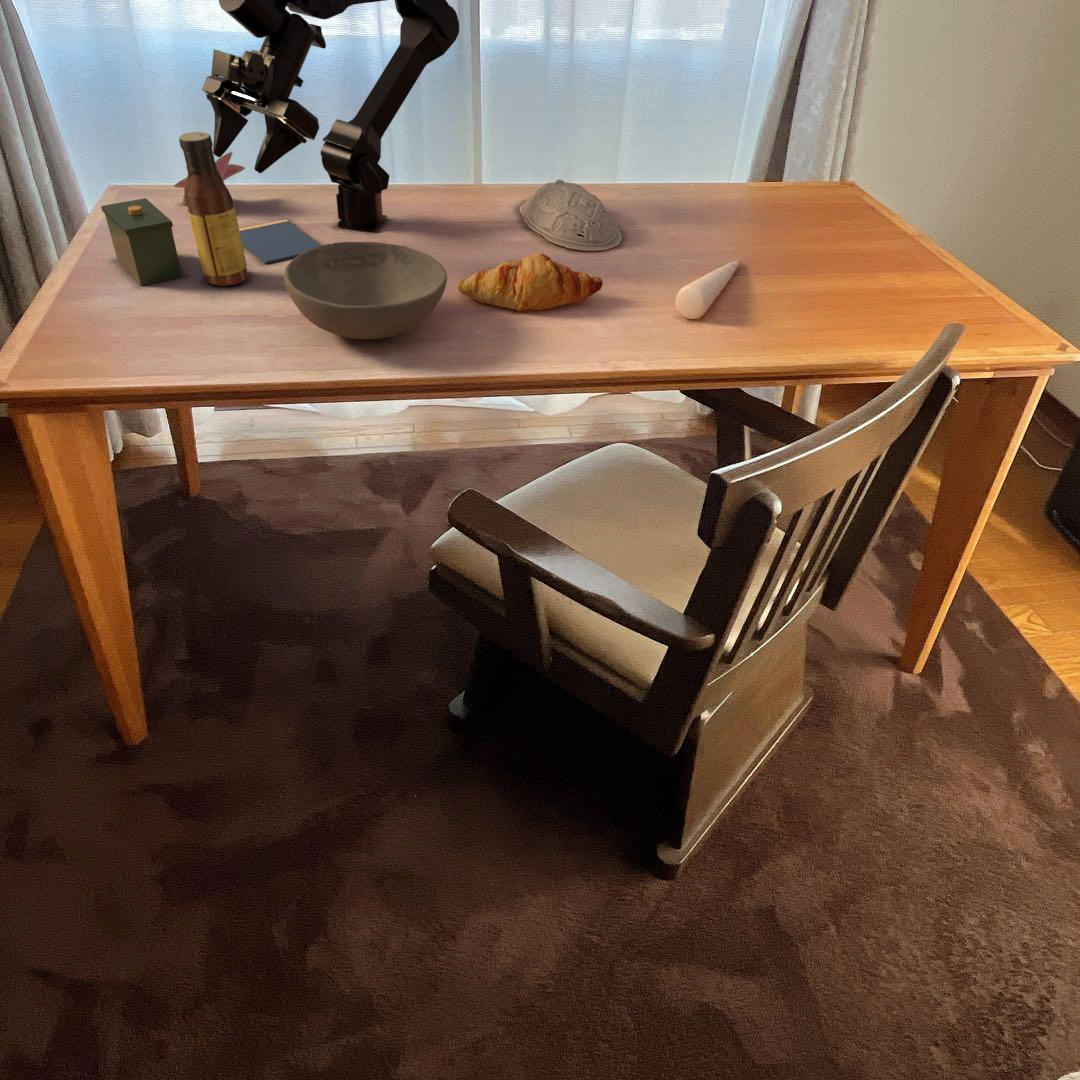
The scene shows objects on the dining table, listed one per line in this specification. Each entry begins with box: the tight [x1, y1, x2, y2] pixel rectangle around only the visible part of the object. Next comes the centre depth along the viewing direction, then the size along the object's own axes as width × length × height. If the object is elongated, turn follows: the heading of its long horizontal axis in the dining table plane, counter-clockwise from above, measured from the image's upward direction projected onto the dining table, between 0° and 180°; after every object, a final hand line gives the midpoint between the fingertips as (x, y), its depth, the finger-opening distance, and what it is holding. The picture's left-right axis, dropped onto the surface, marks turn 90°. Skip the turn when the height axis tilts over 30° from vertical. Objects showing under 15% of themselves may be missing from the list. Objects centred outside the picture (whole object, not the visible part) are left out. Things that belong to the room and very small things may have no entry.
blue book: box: [239, 218, 321, 265], centre depth 139 cm, size 10×14×1 cm
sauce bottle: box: [178, 131, 248, 287], centre depth 121 cm, size 6×6×20 cm
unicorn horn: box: [674, 259, 740, 320], centre depth 132 cm, size 5×24×5 cm, turn 149°
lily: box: [173, 151, 246, 205], centre depth 146 cm, size 12×12×10 cm
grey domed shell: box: [519, 178, 623, 252], centre depth 150 cm, size 16×25×7 cm, turn 19°
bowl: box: [283, 241, 448, 340], centre depth 117 cm, size 21×21×8 cm
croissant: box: [456, 252, 604, 311], centre depth 126 cm, size 21×10×8 cm, turn 97°
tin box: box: [100, 198, 183, 286], centre depth 126 cm, size 6×10×9 cm, turn 38°
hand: (236, 163), depth 123 cm, fingers open, 9 cm apart
